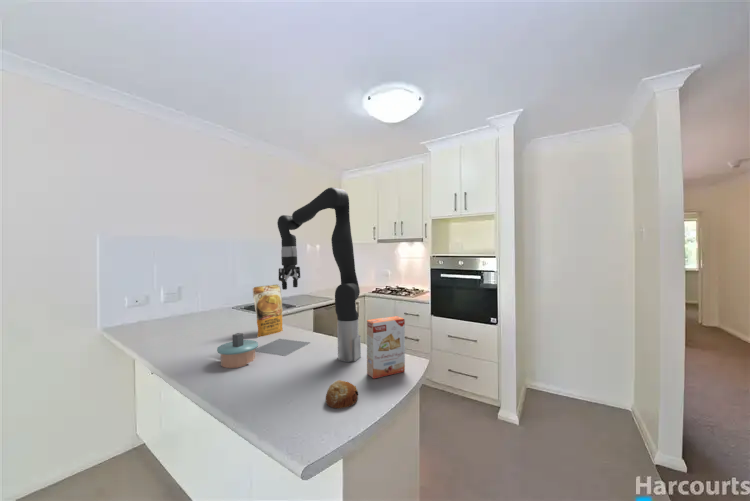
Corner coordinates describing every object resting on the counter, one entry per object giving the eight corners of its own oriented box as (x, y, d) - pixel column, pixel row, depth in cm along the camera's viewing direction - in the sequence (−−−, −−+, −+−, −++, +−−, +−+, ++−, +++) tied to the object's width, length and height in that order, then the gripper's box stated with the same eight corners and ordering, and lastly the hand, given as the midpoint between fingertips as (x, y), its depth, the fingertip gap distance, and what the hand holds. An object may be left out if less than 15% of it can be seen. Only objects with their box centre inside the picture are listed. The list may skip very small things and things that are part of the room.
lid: (265, 344, 133) (265, 330, 133) (237, 356, 118) (236, 341, 118) (238, 340, 139) (238, 327, 139) (208, 352, 124) (207, 337, 124)
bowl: (261, 358, 132) (260, 345, 132) (237, 369, 120) (237, 354, 120) (239, 355, 137) (238, 342, 137) (214, 365, 125) (214, 351, 125)
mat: (311, 344, 151) (311, 342, 151) (285, 357, 133) (285, 355, 133) (279, 340, 159) (279, 338, 159) (250, 352, 140) (250, 350, 140)
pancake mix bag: (250, 337, 165) (249, 286, 165) (280, 329, 180) (279, 283, 180) (256, 339, 161) (255, 287, 161) (287, 331, 176) (286, 284, 175)
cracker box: (373, 380, 109) (372, 322, 109) (366, 374, 114) (365, 319, 114) (405, 372, 115) (405, 318, 115) (397, 366, 121) (396, 315, 121)
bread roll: (332, 404, 99) (321, 383, 99) (360, 389, 100) (349, 368, 100) (331, 421, 89) (319, 398, 89) (361, 405, 90) (349, 381, 90)
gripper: (286, 256, 140) (287, 290, 140) (303, 255, 153) (304, 286, 154) (273, 256, 143) (274, 290, 143) (291, 255, 156) (292, 286, 156)
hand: (290, 288), depth 148 cm, fingers open, 8 cm apart
